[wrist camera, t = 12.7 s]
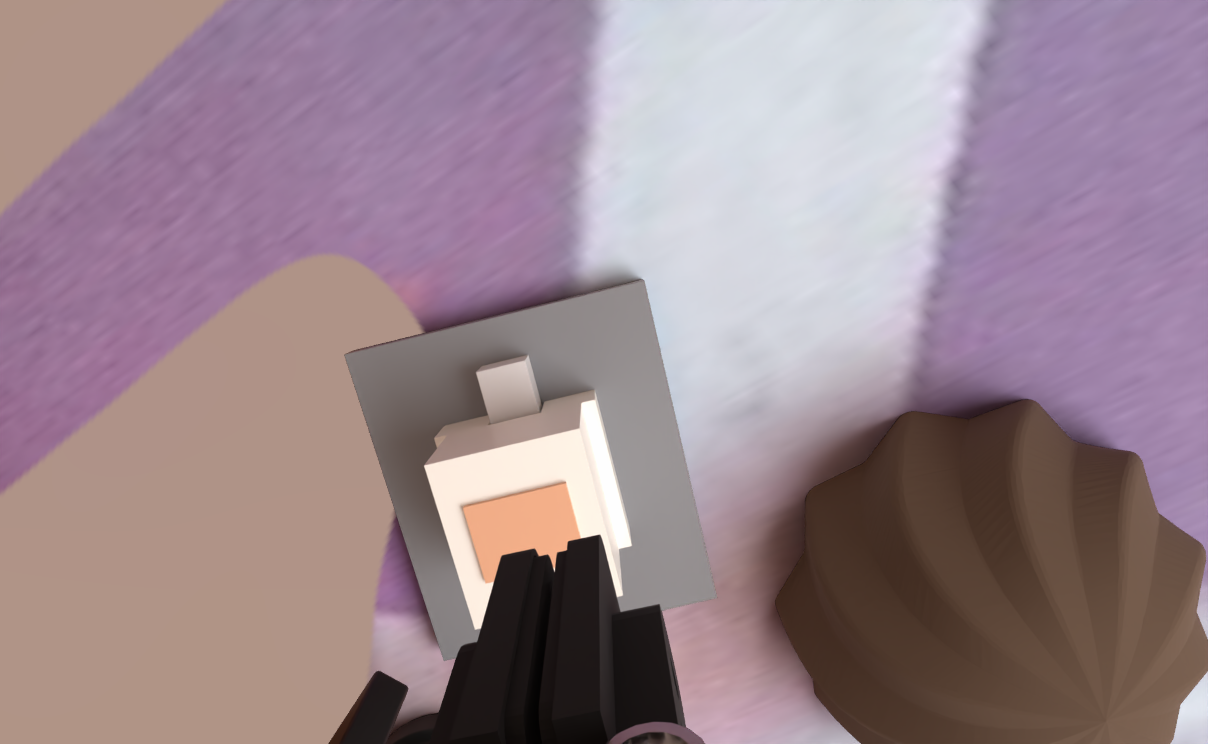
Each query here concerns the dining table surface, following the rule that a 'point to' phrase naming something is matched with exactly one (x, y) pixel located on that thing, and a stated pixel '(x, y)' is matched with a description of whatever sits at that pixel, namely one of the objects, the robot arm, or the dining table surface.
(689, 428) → the dining table surface
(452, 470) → the block
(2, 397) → the dining table surface
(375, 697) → the light fixture
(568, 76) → the dining table surface
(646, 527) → the rail board
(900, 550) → the decorative dome
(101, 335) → the dining table surface
